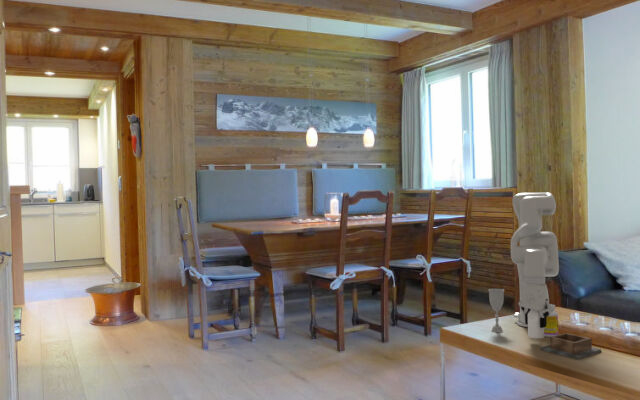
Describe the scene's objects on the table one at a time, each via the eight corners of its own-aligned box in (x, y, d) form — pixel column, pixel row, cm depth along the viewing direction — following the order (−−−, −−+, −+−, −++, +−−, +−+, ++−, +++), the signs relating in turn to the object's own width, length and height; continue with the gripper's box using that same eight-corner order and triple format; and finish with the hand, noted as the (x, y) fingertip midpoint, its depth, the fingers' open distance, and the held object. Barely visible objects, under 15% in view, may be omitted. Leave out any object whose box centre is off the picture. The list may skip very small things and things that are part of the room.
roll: (525, 307, 212) (529, 304, 217) (526, 337, 212) (529, 333, 217) (541, 308, 209) (544, 305, 213) (542, 339, 209) (545, 335, 214)
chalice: (495, 328, 239) (494, 287, 239) (508, 331, 234) (508, 289, 234) (485, 331, 235) (484, 290, 235) (499, 334, 229) (498, 291, 229)
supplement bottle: (560, 337, 221) (559, 306, 221) (542, 337, 223) (542, 306, 222) (556, 333, 228) (555, 303, 228) (539, 333, 229) (539, 303, 229)
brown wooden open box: (540, 349, 205) (540, 336, 205) (564, 343, 213) (563, 330, 213) (577, 359, 192) (577, 345, 192) (601, 352, 200) (600, 338, 200)
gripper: (510, 278, 218) (511, 322, 218) (548, 284, 203) (549, 331, 204) (522, 276, 222) (523, 319, 222) (560, 282, 207) (561, 328, 208)
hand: (535, 325), depth 213 cm, fingers closed on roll, 5 cm apart
